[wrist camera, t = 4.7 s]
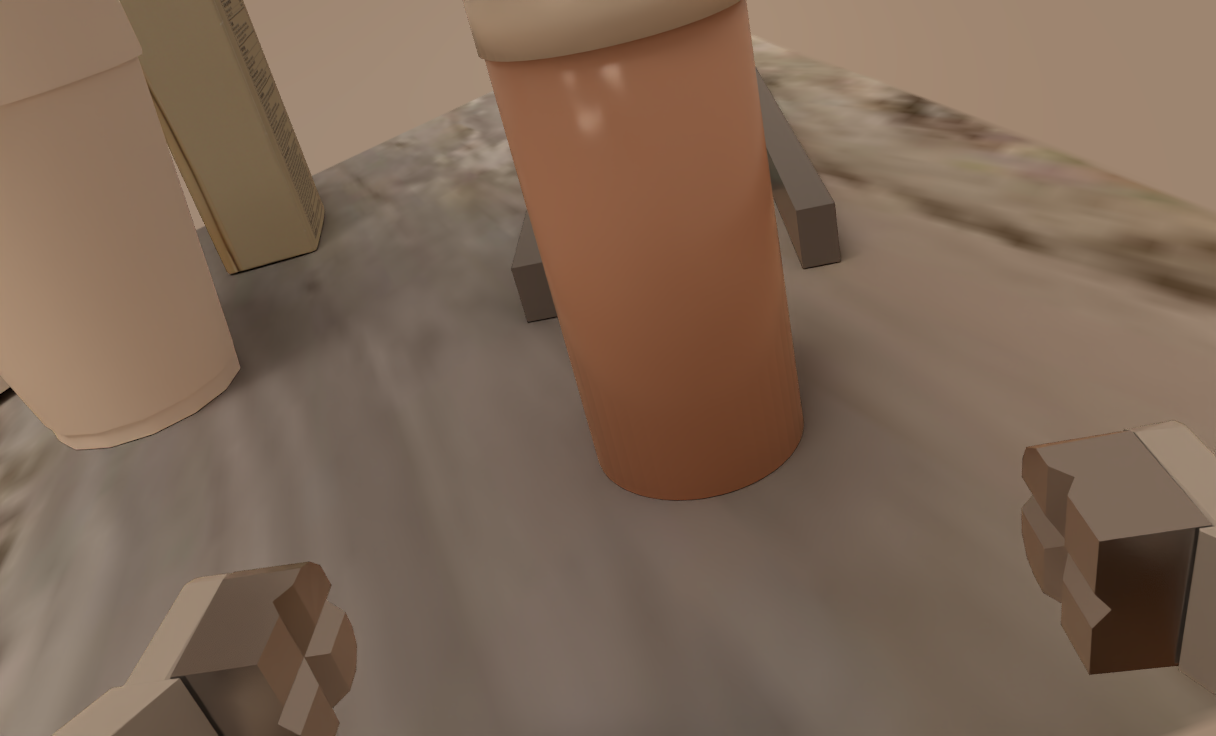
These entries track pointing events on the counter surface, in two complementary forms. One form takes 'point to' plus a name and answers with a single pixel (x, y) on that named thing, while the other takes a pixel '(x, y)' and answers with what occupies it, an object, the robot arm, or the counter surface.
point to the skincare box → (227, 129)
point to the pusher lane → (792, 190)
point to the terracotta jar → (653, 230)
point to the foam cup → (97, 236)
